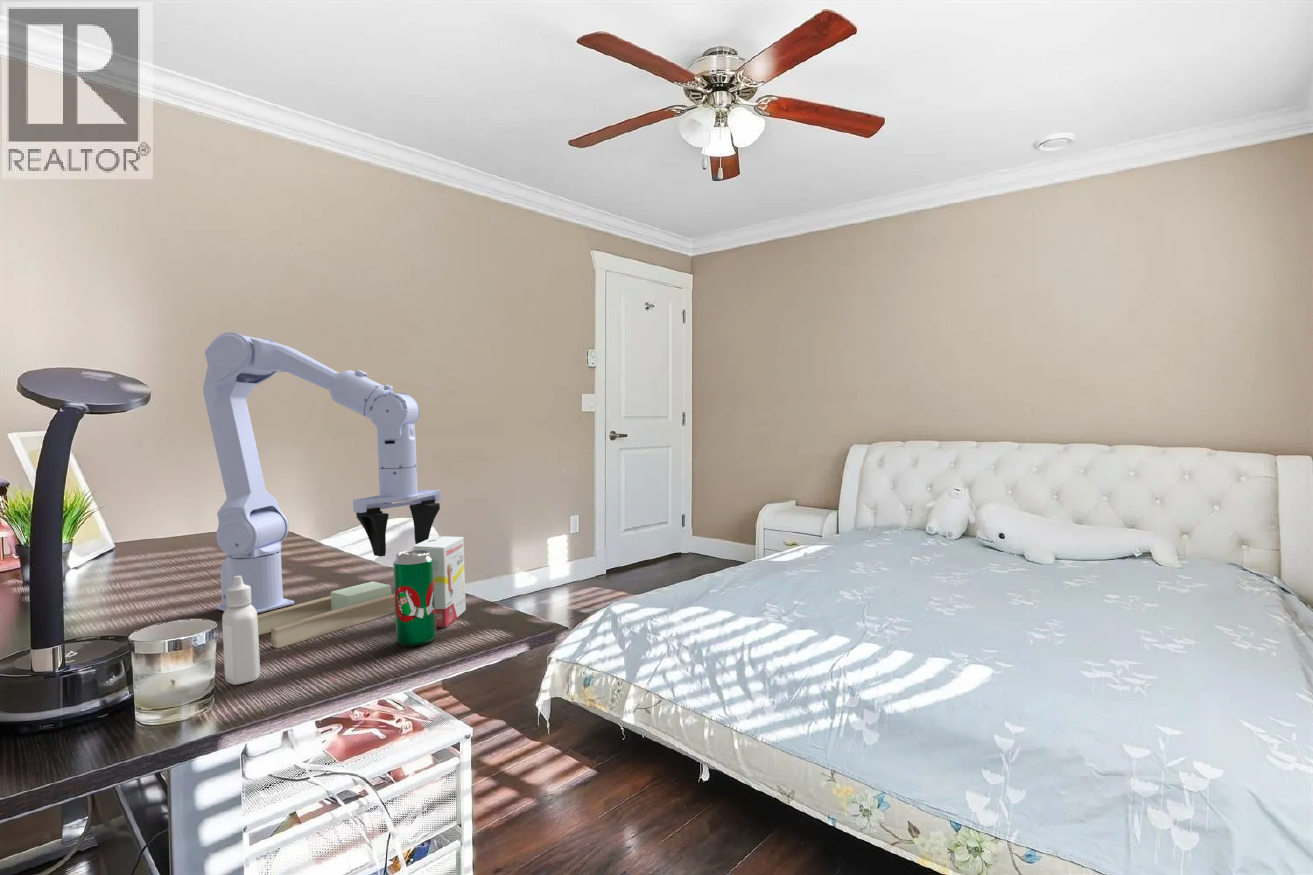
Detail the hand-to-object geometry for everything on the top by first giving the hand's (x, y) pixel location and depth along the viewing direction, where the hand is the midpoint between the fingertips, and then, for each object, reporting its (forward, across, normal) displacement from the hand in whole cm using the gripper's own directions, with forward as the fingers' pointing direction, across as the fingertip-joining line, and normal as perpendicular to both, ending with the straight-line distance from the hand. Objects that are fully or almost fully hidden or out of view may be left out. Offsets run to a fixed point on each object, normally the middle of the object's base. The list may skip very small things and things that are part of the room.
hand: (401, 550), depth 103 cm
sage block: (+9, -6, +2) cm, 11 cm away
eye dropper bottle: (+9, -28, -10) cm, 31 cm away
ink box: (+9, -2, -12) cm, 15 cm away
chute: (+9, -11, +2) cm, 14 cm away
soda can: (+9, -10, -17) cm, 22 cm away
